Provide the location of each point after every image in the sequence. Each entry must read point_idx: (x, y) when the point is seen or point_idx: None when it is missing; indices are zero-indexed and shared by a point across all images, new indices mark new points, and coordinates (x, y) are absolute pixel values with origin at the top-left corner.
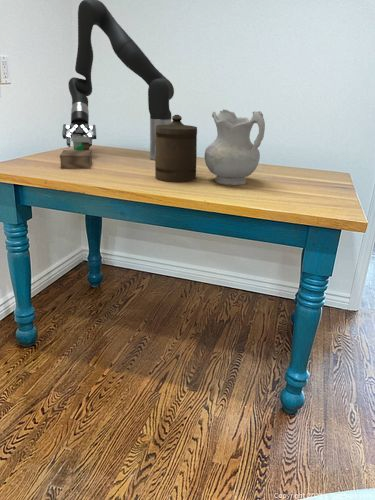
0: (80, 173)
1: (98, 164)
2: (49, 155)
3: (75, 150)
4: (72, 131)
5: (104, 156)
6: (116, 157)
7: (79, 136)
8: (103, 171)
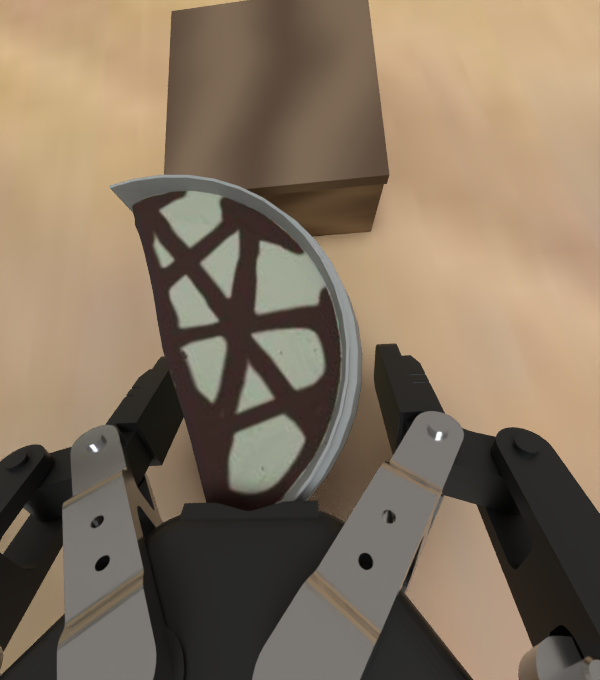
0: None
1: None
2: None
3: (289, 178)
4: (376, 484)
5: None
6: None
7: (259, 438)
8: (143, 54)
